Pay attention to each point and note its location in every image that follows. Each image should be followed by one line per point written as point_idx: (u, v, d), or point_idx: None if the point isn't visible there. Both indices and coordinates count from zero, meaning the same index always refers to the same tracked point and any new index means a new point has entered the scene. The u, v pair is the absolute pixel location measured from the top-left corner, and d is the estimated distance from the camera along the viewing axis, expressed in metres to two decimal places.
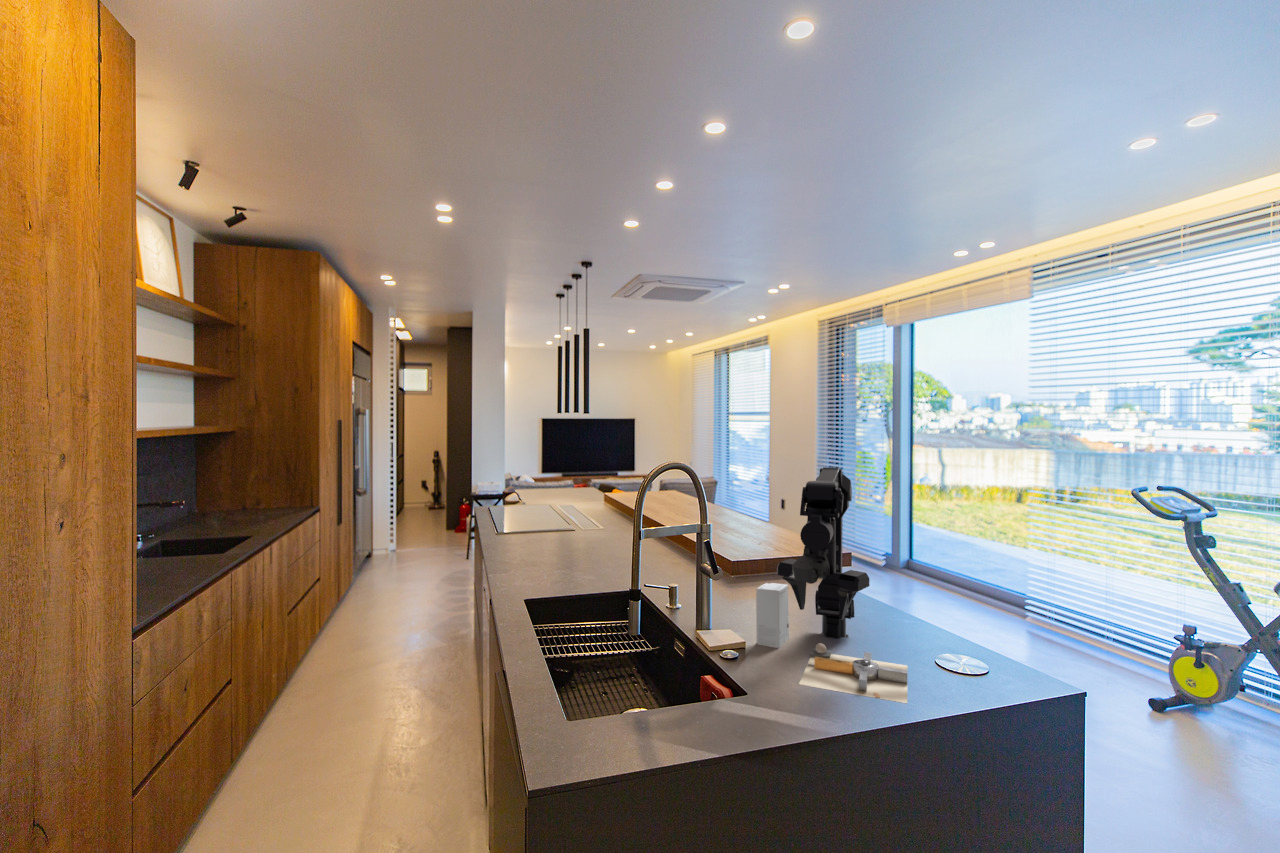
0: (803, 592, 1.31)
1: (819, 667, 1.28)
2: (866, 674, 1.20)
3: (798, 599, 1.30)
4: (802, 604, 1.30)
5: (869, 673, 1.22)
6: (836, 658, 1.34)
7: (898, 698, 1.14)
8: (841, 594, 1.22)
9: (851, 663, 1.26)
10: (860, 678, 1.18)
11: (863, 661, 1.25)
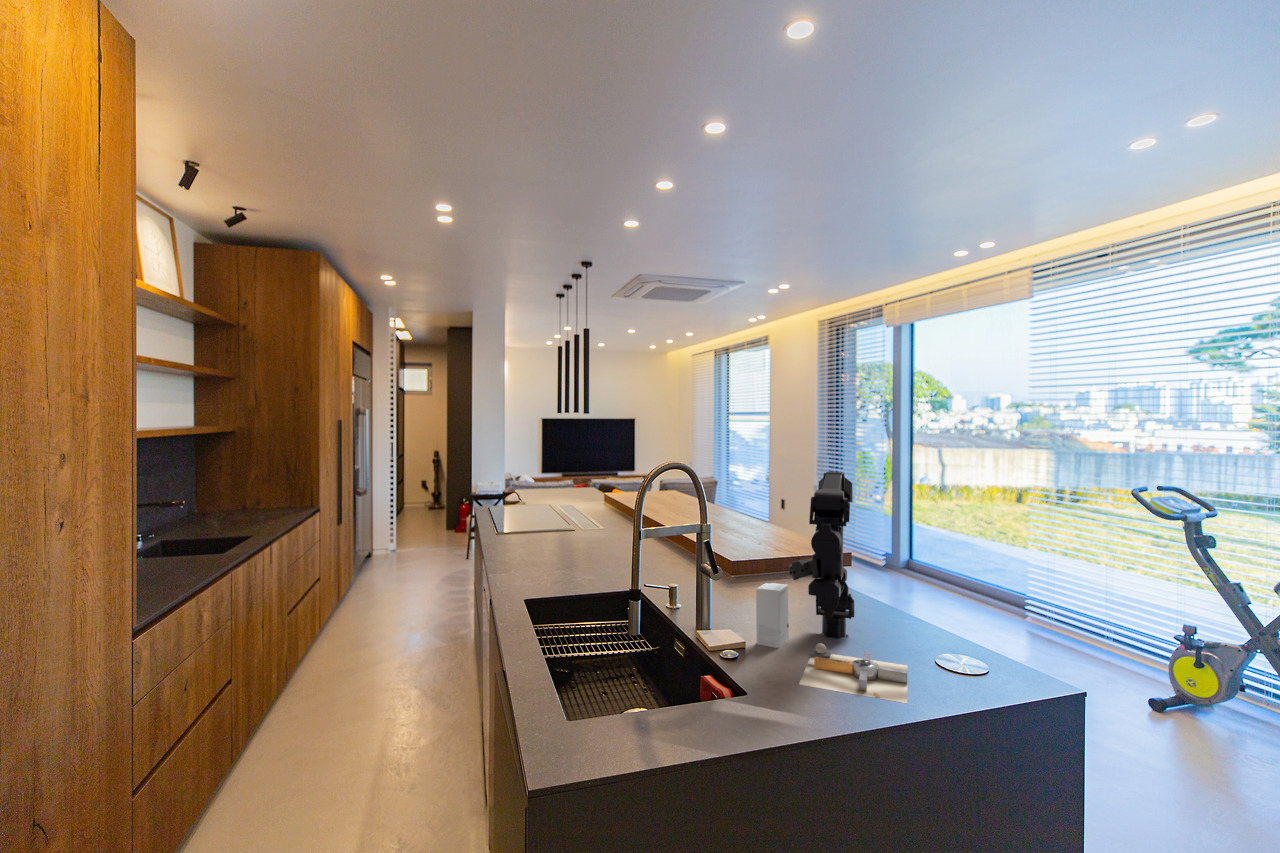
0: None
1: (819, 667, 1.28)
2: (866, 674, 1.20)
3: None
4: None
5: (869, 673, 1.22)
6: (836, 658, 1.34)
7: (898, 698, 1.14)
8: None
9: (851, 663, 1.26)
10: (860, 678, 1.18)
11: (863, 661, 1.25)
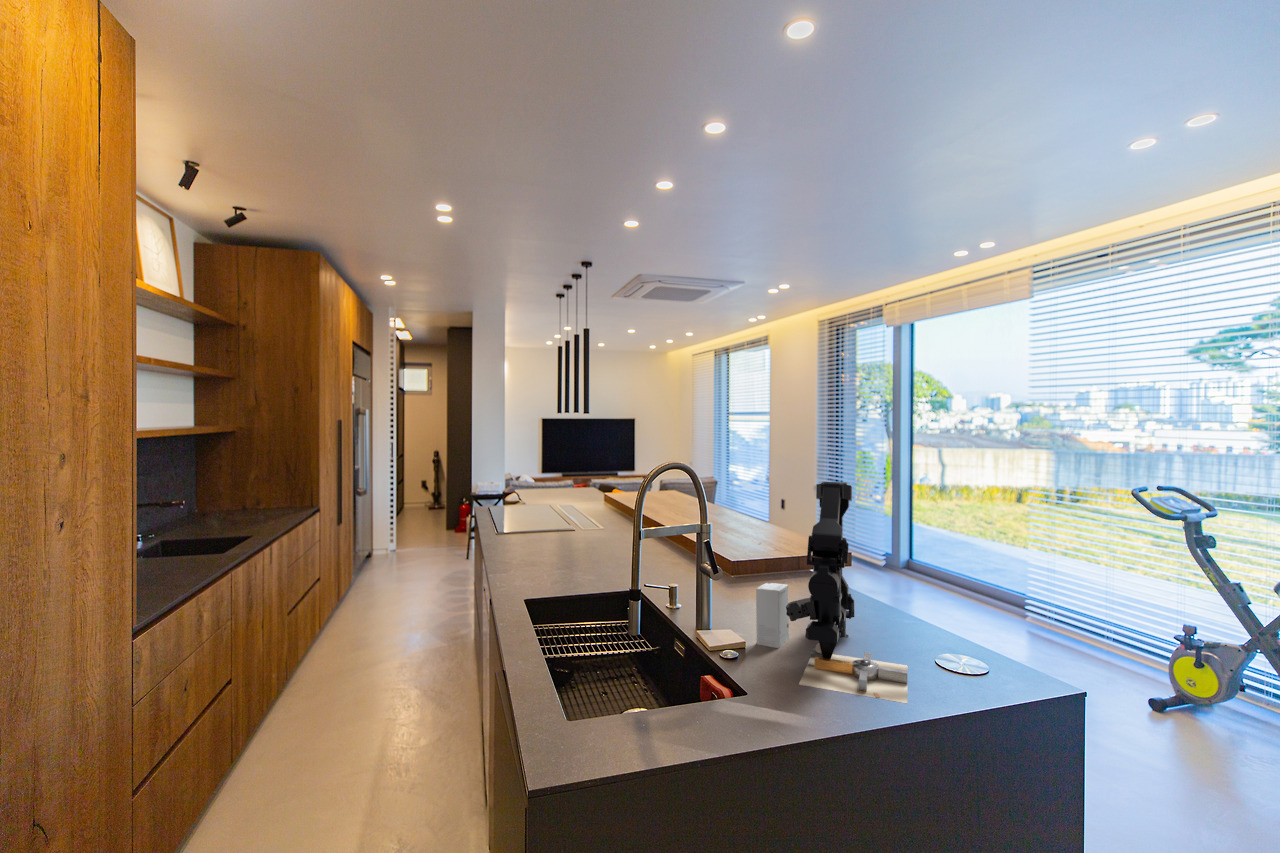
0: None
1: (819, 667, 1.28)
2: (866, 674, 1.20)
3: None
4: None
5: (869, 673, 1.22)
6: (836, 658, 1.34)
7: (898, 698, 1.14)
8: None
9: (851, 663, 1.26)
10: (860, 678, 1.18)
11: (863, 661, 1.25)
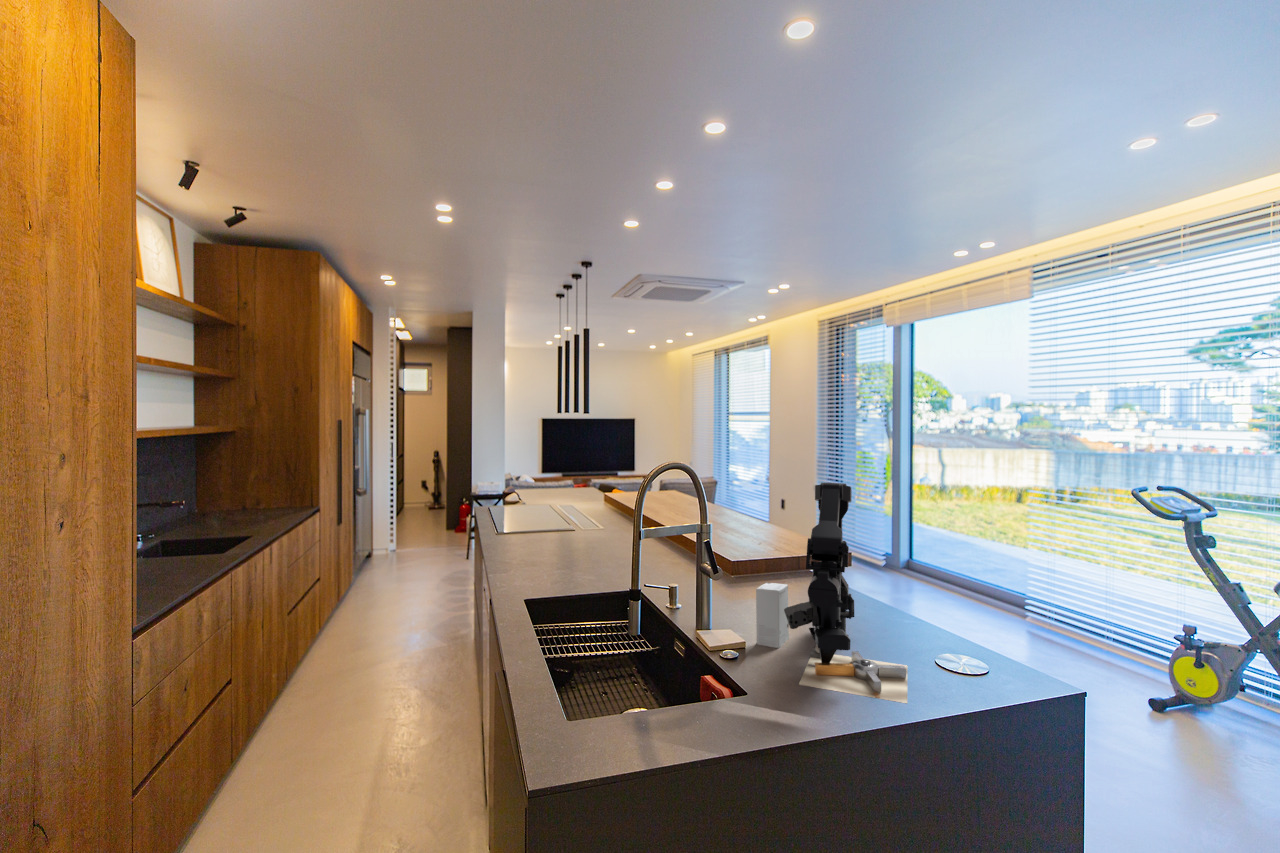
0: None
1: (821, 673, 1.25)
2: (875, 675, 1.20)
3: (820, 654, 1.27)
4: (824, 661, 1.26)
5: None
6: (836, 658, 1.34)
7: (898, 698, 1.14)
8: None
9: (851, 665, 1.25)
10: (874, 680, 1.17)
11: (864, 661, 1.24)
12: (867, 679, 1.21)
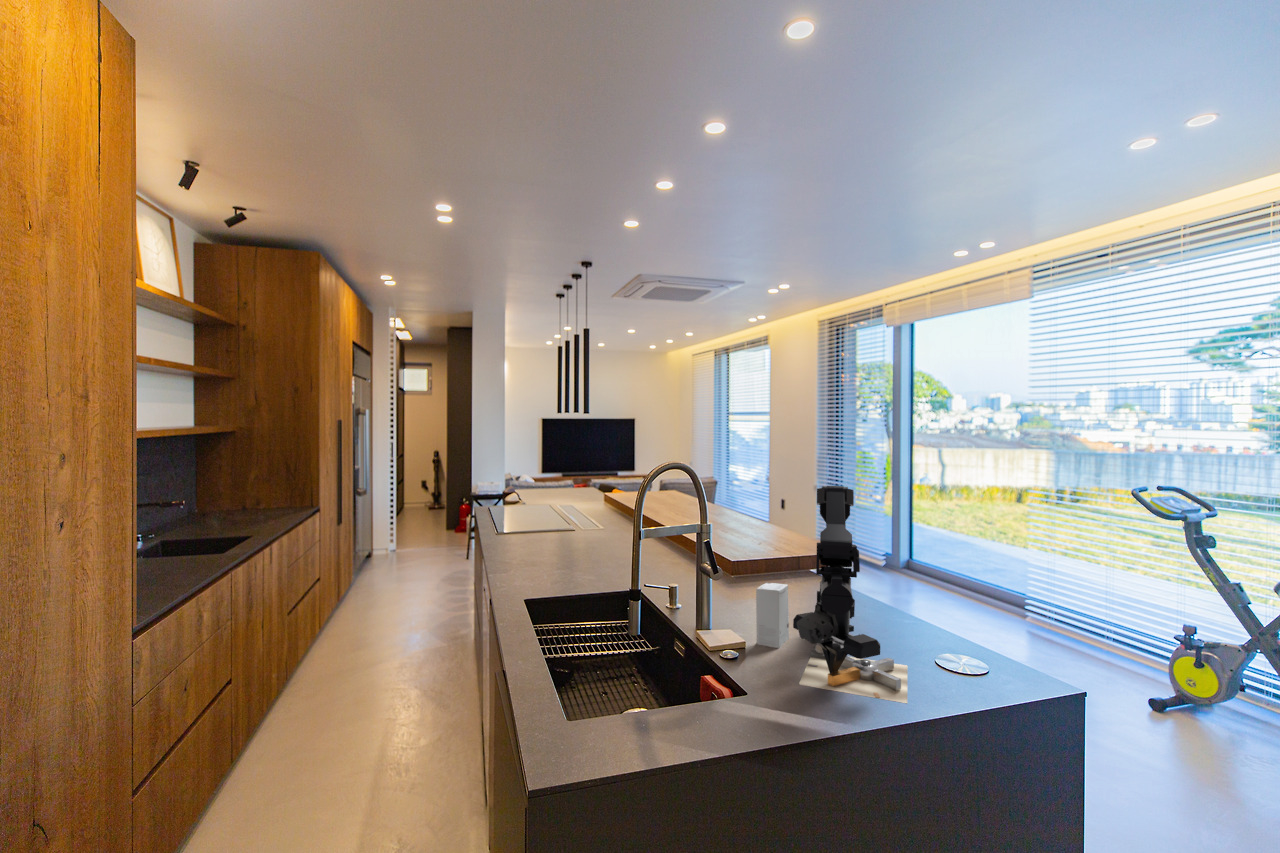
0: None
1: (836, 683, 1.19)
2: (886, 673, 1.21)
3: (828, 664, 1.22)
4: None
5: None
6: None
7: (898, 698, 1.14)
8: (829, 650, 1.20)
9: (856, 668, 1.23)
10: (894, 678, 1.18)
11: (865, 662, 1.24)
12: (878, 679, 1.21)
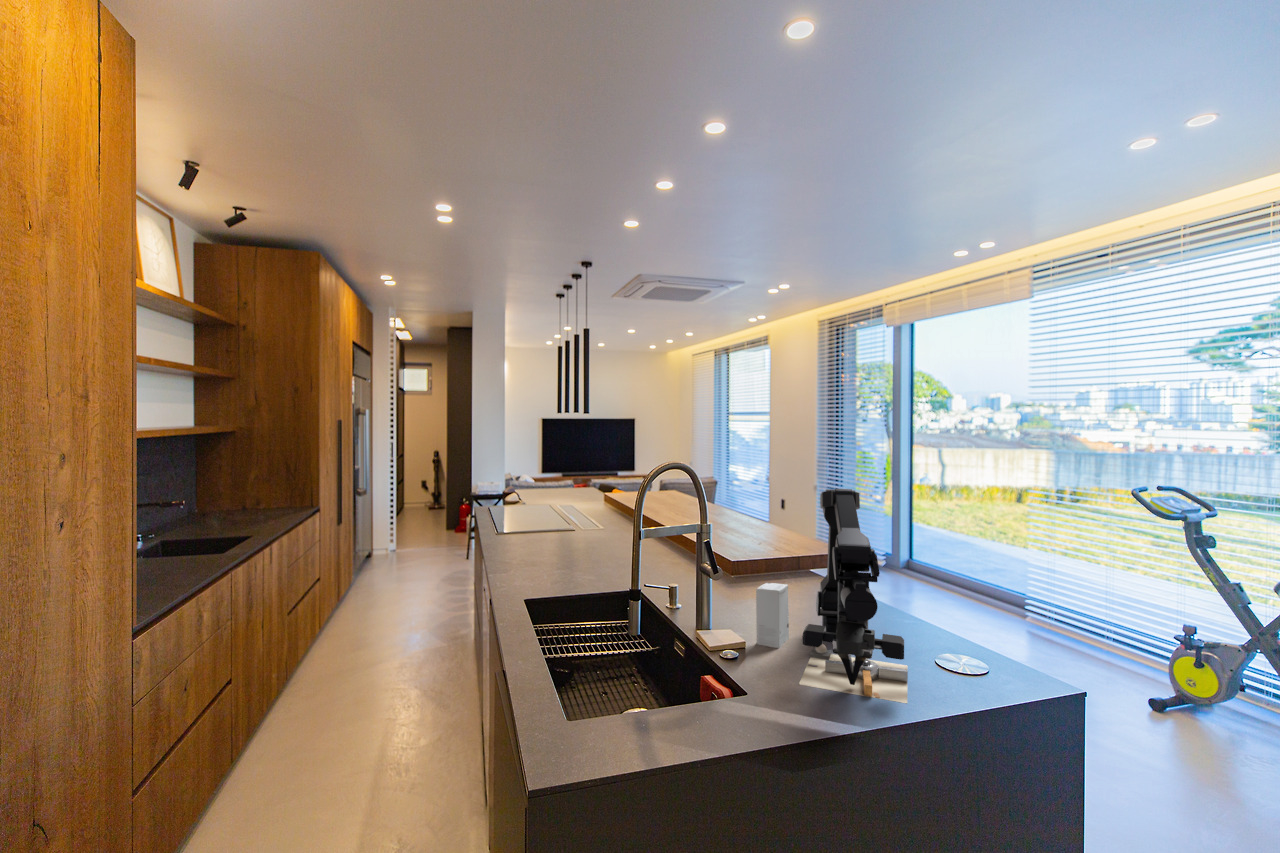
0: (851, 664, 1.19)
1: None
2: (890, 667, 1.24)
3: (848, 673, 1.18)
4: None
5: None
6: (836, 658, 1.34)
7: (898, 698, 1.14)
8: (857, 658, 1.16)
9: (866, 670, 1.22)
10: (904, 671, 1.22)
11: (867, 662, 1.24)
12: (885, 675, 1.23)
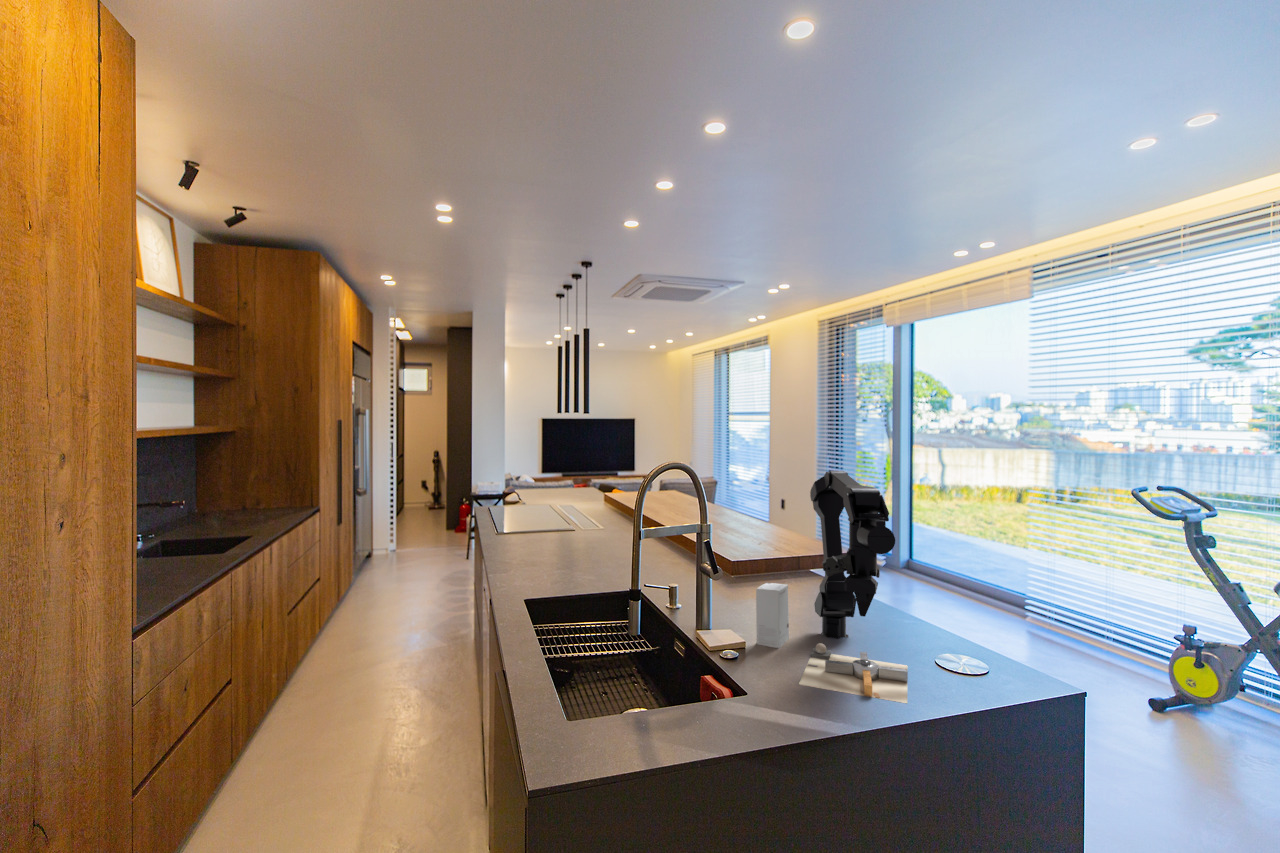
0: None
1: None
2: (890, 667, 1.24)
3: None
4: None
5: None
6: (836, 658, 1.34)
7: (898, 698, 1.14)
8: None
9: (866, 670, 1.22)
10: (904, 671, 1.22)
11: (867, 662, 1.24)
12: (885, 675, 1.23)
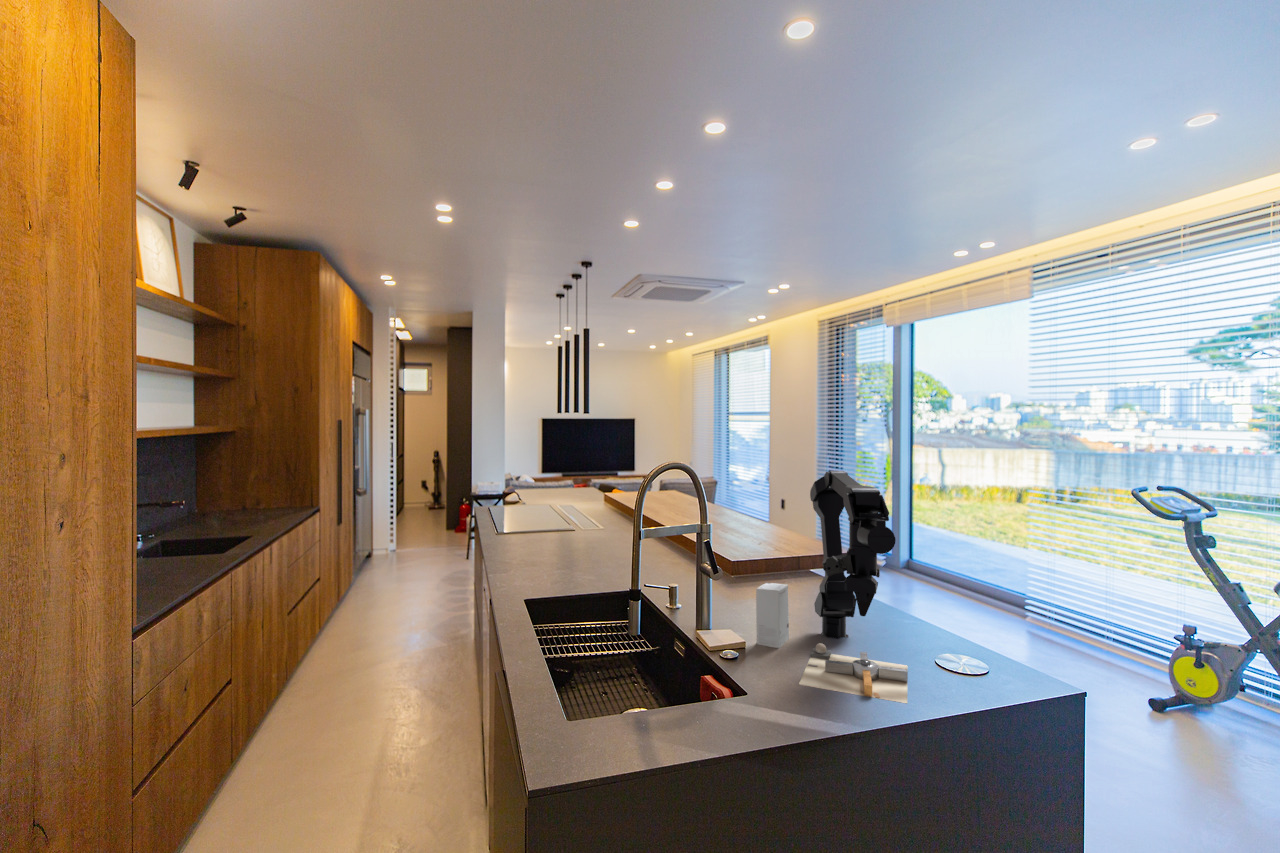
0: None
1: None
2: (890, 667, 1.24)
3: None
4: None
5: None
6: (836, 658, 1.34)
7: (898, 698, 1.14)
8: None
9: (866, 670, 1.22)
10: (904, 671, 1.22)
11: (867, 662, 1.24)
12: (885, 675, 1.23)
